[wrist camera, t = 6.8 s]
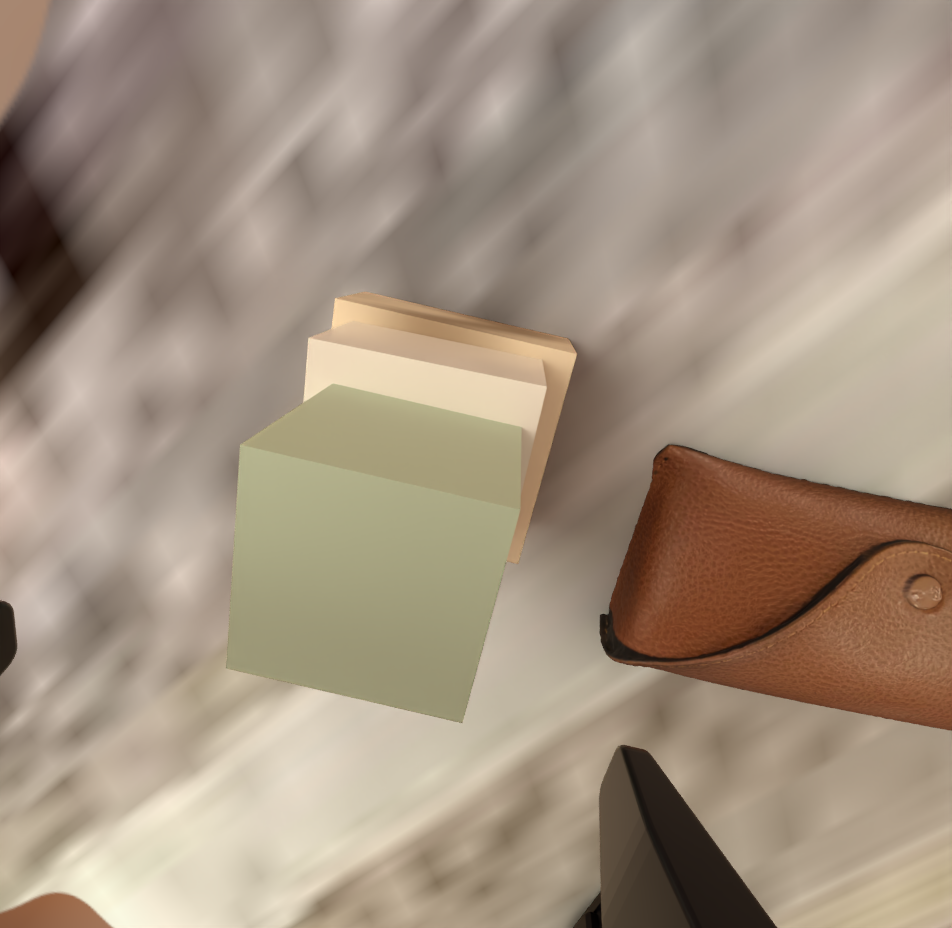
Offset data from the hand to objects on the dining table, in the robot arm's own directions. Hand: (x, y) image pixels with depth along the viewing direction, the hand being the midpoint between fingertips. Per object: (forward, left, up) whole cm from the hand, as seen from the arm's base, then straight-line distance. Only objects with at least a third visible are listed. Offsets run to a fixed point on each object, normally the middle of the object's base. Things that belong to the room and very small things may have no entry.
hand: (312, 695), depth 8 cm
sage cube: (0, -1, -6) cm, 6 cm away
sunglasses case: (-17, -1, -14) cm, 21 cm away
